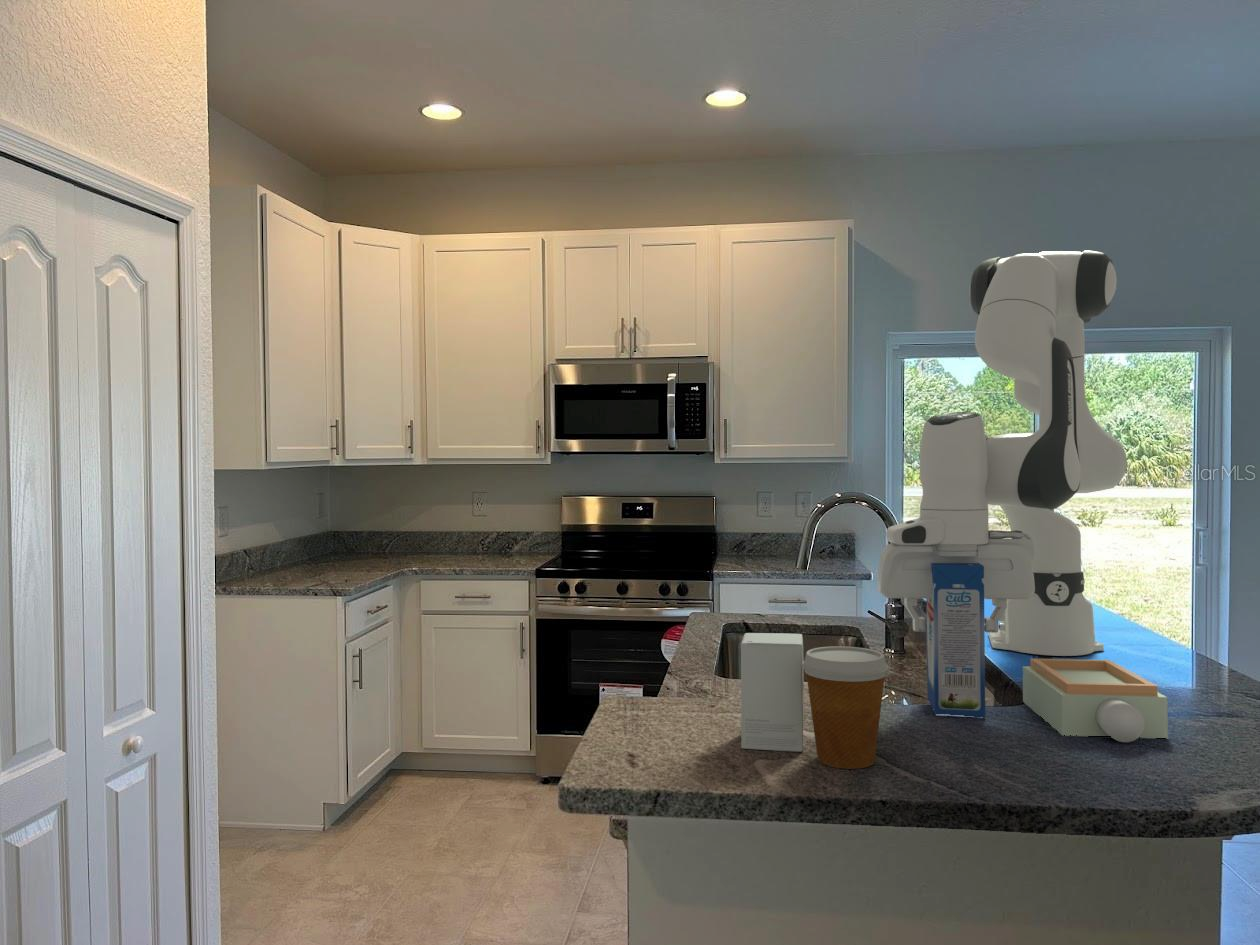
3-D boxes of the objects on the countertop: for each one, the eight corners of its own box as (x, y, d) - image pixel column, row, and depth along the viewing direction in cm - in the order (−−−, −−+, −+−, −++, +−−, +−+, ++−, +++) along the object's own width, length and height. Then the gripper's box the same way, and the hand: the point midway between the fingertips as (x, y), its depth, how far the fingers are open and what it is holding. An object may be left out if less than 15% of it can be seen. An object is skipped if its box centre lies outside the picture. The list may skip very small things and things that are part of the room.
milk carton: (927, 697, 127) (926, 558, 127) (973, 699, 126) (971, 558, 126) (935, 716, 118) (934, 565, 118) (985, 718, 116) (983, 566, 116)
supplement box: (804, 753, 103) (802, 644, 103) (739, 749, 105) (738, 642, 105) (804, 734, 110) (803, 632, 110) (744, 731, 112) (743, 631, 112)
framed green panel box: (1023, 701, 124) (1022, 657, 124) (1114, 704, 123) (1113, 659, 123) (1070, 743, 106) (1070, 691, 106) (1179, 746, 104) (1179, 693, 104)
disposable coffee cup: (786, 761, 100) (785, 654, 100) (830, 741, 107) (829, 642, 107) (864, 780, 94) (862, 666, 94) (904, 758, 101) (903, 652, 101)
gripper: (1026, 528, 123) (1027, 628, 123) (875, 528, 126) (876, 626, 126) (1041, 531, 117) (1042, 636, 117) (881, 531, 120) (882, 634, 120)
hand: (954, 631), depth 122 cm, fingers open, 8 cm apart
